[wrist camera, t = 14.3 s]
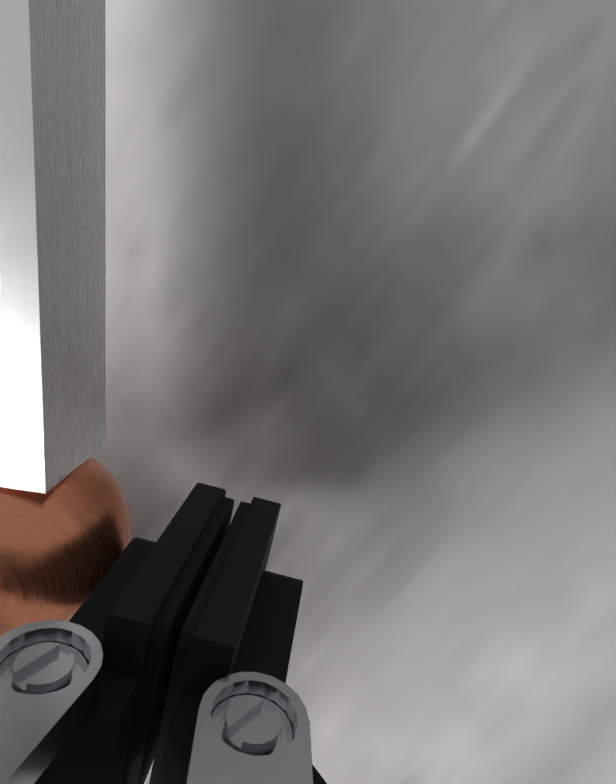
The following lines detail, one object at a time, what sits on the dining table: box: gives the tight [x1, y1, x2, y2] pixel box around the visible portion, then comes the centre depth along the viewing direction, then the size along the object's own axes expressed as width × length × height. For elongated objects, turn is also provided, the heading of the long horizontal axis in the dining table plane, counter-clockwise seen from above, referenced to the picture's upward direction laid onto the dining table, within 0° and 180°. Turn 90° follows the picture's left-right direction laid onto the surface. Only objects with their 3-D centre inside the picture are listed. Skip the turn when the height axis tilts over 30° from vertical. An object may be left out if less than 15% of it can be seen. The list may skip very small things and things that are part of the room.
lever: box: [0, 0, 132, 637], centre depth 9 cm, size 16×4×4 cm, turn 174°
